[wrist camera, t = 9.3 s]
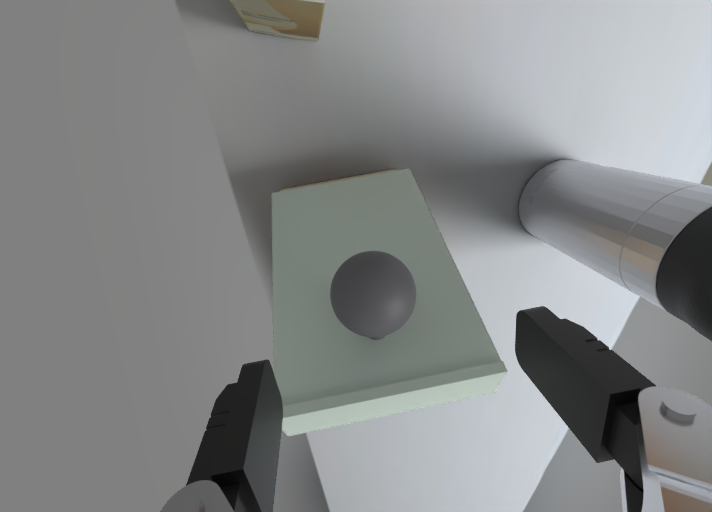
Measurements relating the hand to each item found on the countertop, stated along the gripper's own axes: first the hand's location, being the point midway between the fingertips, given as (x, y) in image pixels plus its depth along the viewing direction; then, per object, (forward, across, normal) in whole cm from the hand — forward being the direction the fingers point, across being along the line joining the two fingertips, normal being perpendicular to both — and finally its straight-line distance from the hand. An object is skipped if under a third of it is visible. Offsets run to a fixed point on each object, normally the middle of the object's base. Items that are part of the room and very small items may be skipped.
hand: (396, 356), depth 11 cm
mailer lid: (+15, 0, +5) cm, 15 cm away
